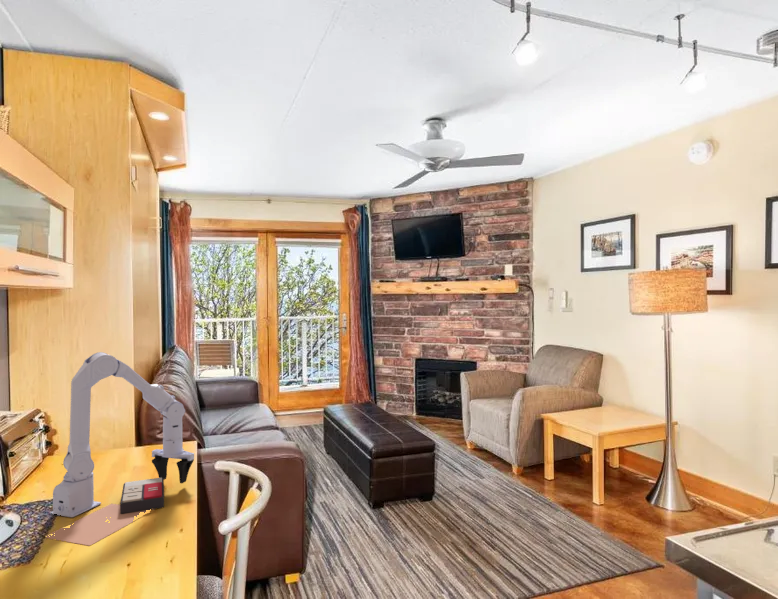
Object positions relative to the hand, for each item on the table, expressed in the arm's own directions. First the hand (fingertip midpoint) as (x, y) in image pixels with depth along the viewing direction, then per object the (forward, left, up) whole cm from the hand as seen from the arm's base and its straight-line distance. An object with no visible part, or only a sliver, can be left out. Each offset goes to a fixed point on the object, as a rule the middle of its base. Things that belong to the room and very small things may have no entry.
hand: (173, 481), depth 158 cm
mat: (-27, 0, -2) cm, 27 cm away
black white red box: (-12, 0, -2) cm, 13 cm away
